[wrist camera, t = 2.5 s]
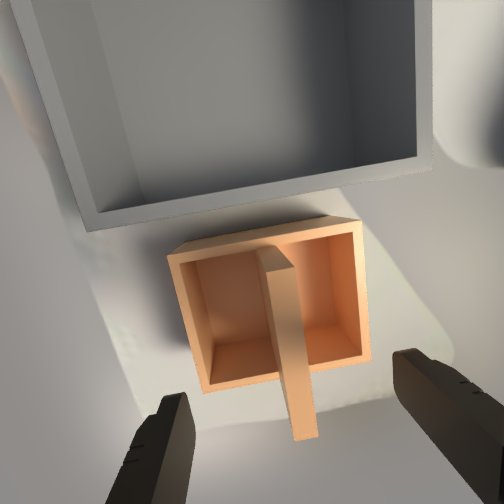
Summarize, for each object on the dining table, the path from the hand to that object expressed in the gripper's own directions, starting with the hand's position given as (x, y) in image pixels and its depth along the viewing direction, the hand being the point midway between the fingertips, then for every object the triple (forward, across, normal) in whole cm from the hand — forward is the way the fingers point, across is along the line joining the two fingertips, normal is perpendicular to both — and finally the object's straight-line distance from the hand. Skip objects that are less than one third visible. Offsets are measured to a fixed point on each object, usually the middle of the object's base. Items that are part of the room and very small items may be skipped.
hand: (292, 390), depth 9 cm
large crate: (+11, 0, -15) cm, 19 cm away
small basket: (+11, -1, 0) cm, 11 cm away
